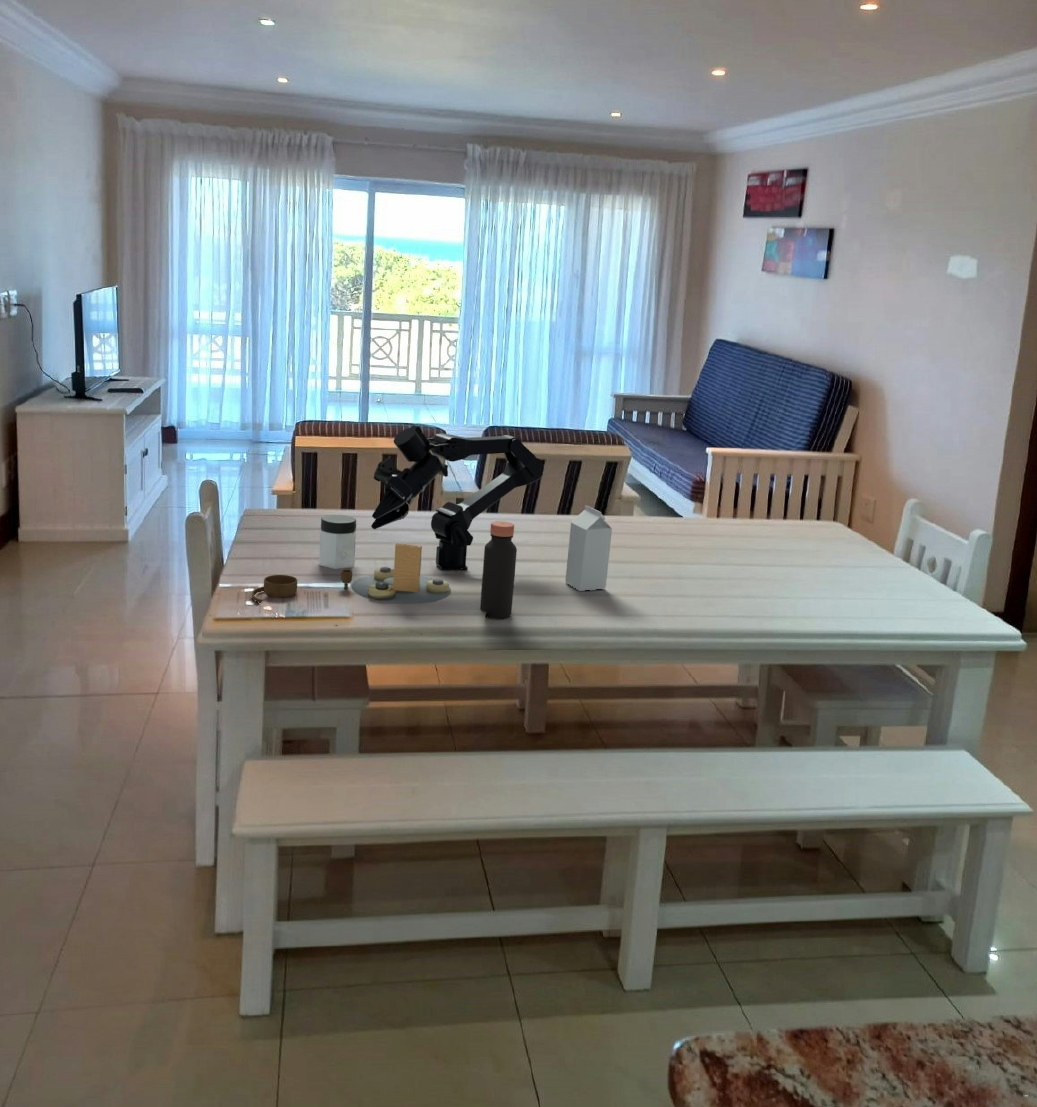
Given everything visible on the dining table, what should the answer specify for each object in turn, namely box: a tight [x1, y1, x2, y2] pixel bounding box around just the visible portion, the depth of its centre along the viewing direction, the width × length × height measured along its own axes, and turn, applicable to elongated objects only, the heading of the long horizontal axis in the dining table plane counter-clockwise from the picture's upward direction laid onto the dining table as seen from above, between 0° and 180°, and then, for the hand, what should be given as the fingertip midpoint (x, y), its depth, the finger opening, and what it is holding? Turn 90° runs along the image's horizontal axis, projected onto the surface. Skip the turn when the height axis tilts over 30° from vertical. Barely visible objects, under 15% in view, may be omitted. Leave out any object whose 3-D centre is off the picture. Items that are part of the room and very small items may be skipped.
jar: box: [318, 514, 357, 570], centre depth 254 cm, size 9×8×12 cm
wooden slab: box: [367, 543, 423, 600], centre depth 232 cm, size 11×6×12 cm, turn 87°
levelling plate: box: [351, 566, 452, 605], centre depth 241 cm, size 22×22×3 cm
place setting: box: [251, 568, 353, 604], centre depth 230 cm, size 18×20×6 cm
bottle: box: [479, 520, 518, 620], centre depth 230 cm, size 7×7×20 cm
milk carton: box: [564, 504, 613, 592], centre depth 255 cm, size 7×7×19 cm
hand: (372, 522), depth 248 cm, fingers open, 9 cm apart
